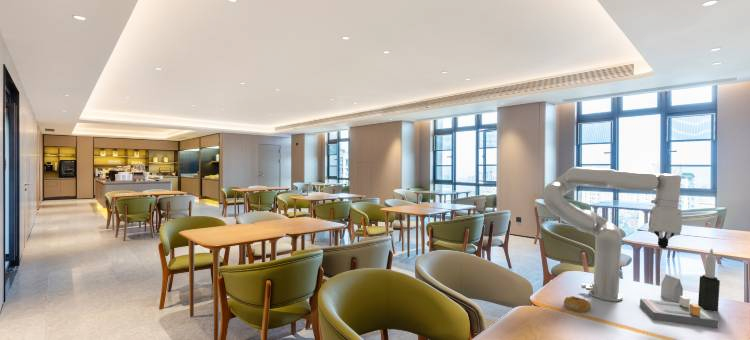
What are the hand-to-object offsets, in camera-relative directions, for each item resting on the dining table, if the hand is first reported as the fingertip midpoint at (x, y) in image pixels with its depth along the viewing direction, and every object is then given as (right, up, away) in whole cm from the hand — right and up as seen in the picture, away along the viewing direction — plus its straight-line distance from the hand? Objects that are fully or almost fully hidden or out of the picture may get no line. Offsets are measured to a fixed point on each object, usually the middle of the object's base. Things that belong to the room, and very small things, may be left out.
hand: (662, 247), depth 152 cm
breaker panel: (-1, -25, -8) cm, 27 cm away
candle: (+19, -26, 0) cm, 31 cm away
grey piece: (+11, -25, +9) cm, 29 cm away
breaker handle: (+2, -22, -13) cm, 26 cm away
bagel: (-36, -25, -2) cm, 44 cm away
